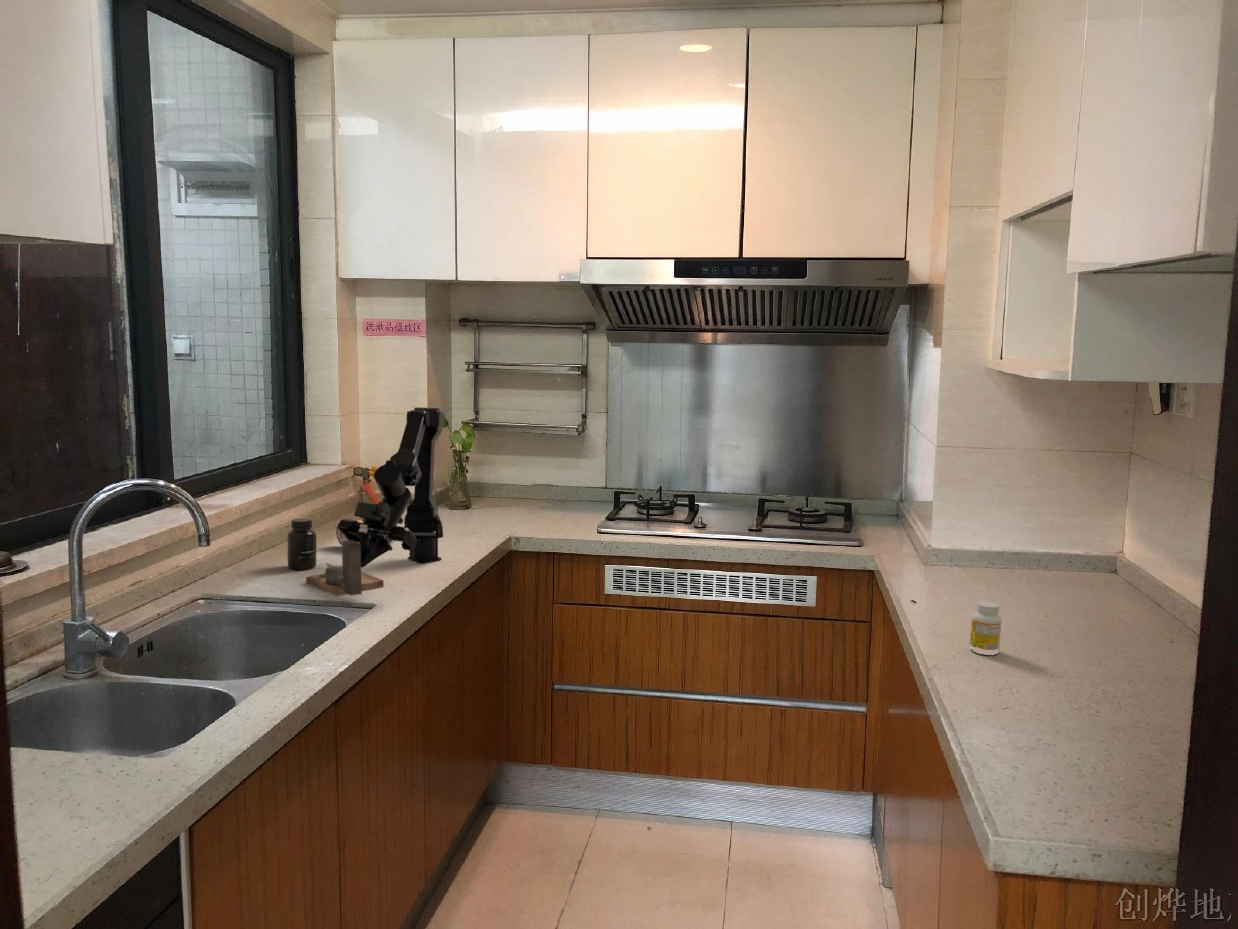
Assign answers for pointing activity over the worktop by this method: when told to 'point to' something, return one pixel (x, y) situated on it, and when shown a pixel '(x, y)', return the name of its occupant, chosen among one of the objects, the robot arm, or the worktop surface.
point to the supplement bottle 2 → (986, 626)
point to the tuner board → (337, 589)
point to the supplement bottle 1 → (301, 545)
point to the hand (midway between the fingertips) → (359, 566)
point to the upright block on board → (347, 569)
